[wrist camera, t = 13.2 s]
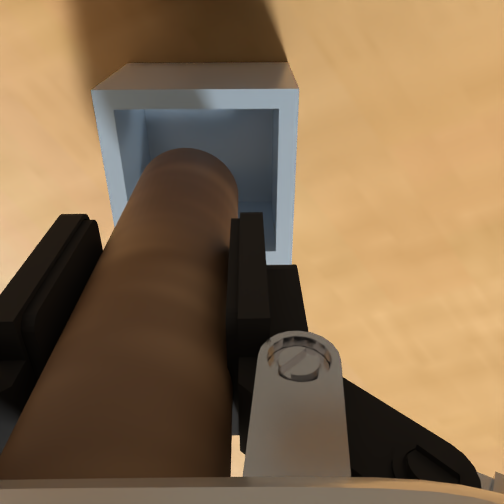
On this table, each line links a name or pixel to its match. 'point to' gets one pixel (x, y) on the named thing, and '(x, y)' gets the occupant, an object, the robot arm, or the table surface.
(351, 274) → the table surface
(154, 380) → the dowel
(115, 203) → the pen holder
